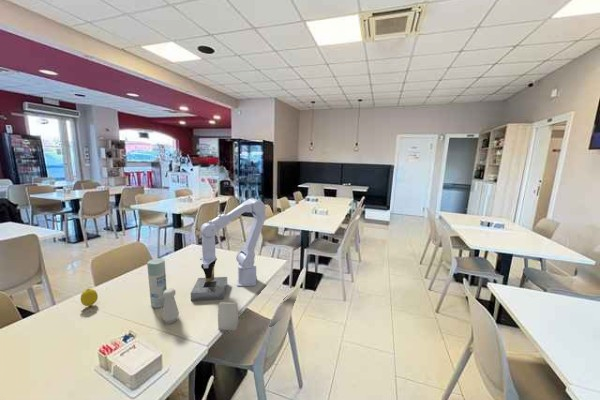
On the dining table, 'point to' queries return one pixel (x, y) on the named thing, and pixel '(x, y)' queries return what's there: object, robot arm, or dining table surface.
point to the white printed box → (228, 316)
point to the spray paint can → (157, 281)
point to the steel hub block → (209, 289)
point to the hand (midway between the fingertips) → (209, 275)
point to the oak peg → (211, 277)
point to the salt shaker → (170, 306)
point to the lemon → (89, 297)
